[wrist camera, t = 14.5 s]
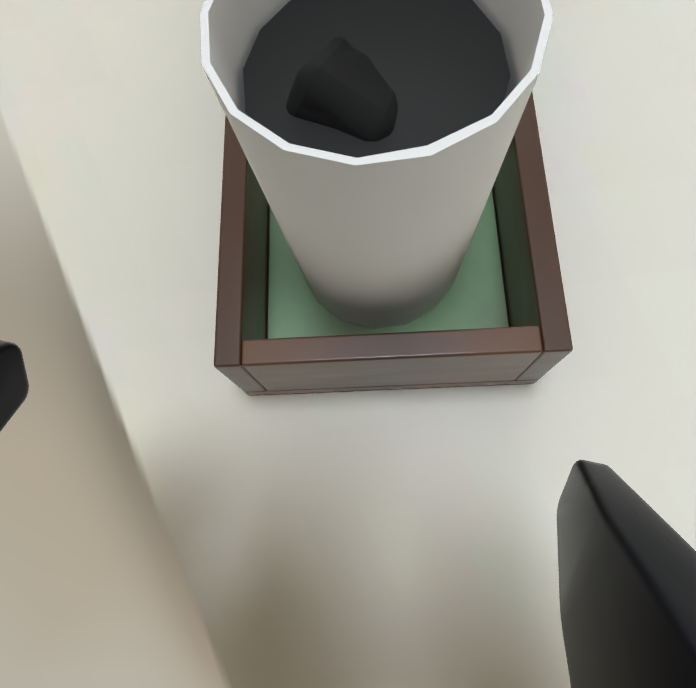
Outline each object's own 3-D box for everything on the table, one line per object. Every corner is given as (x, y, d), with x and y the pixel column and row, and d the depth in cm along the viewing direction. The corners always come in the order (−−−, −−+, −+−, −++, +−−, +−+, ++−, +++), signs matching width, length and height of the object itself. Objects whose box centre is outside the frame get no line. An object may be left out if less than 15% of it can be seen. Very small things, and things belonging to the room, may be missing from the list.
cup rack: (248, 395, 19) (212, 366, 15) (263, -152, 28) (242, -261, 24) (534, 383, 19) (574, 350, 15) (460, -173, 27) (473, -287, 23)
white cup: (422, 372, 18) (459, 223, 9) (256, 291, 20) (130, 85, 10) (501, 215, 20) (607, -58, 10) (342, 150, 21) (304, -146, 12)
